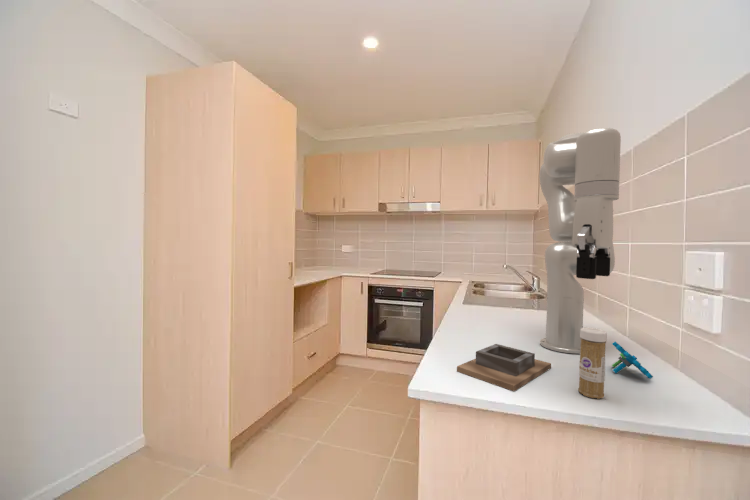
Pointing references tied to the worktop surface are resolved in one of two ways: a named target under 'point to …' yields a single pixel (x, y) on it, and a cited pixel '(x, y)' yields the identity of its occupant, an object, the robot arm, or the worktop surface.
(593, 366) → the sprinkles bottle
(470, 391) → the worktop surface
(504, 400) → the worktop surface
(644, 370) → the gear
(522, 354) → the caddy
